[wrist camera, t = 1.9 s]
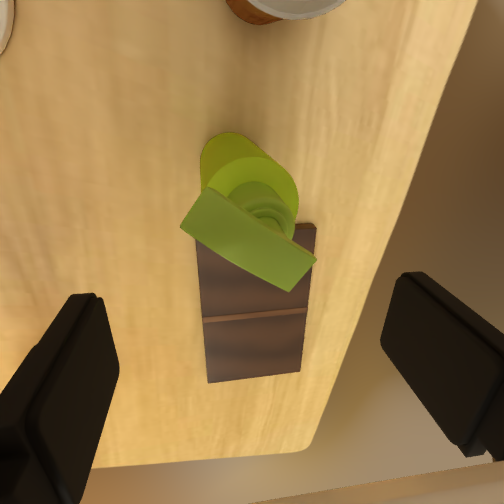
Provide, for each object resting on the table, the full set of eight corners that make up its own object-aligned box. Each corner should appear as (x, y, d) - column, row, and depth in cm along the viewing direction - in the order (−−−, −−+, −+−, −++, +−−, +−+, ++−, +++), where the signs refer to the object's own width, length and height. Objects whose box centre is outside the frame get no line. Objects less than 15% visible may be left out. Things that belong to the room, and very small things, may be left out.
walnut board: (195, 229, 32) (195, 235, 31) (312, 223, 34) (317, 228, 32) (207, 374, 42) (207, 384, 41) (297, 363, 44) (300, 372, 42)
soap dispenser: (212, 111, 27) (241, 138, 10) (271, 156, 30) (378, 243, 12) (178, 165, 29) (150, 274, 11) (237, 204, 31) (288, 340, 14)
